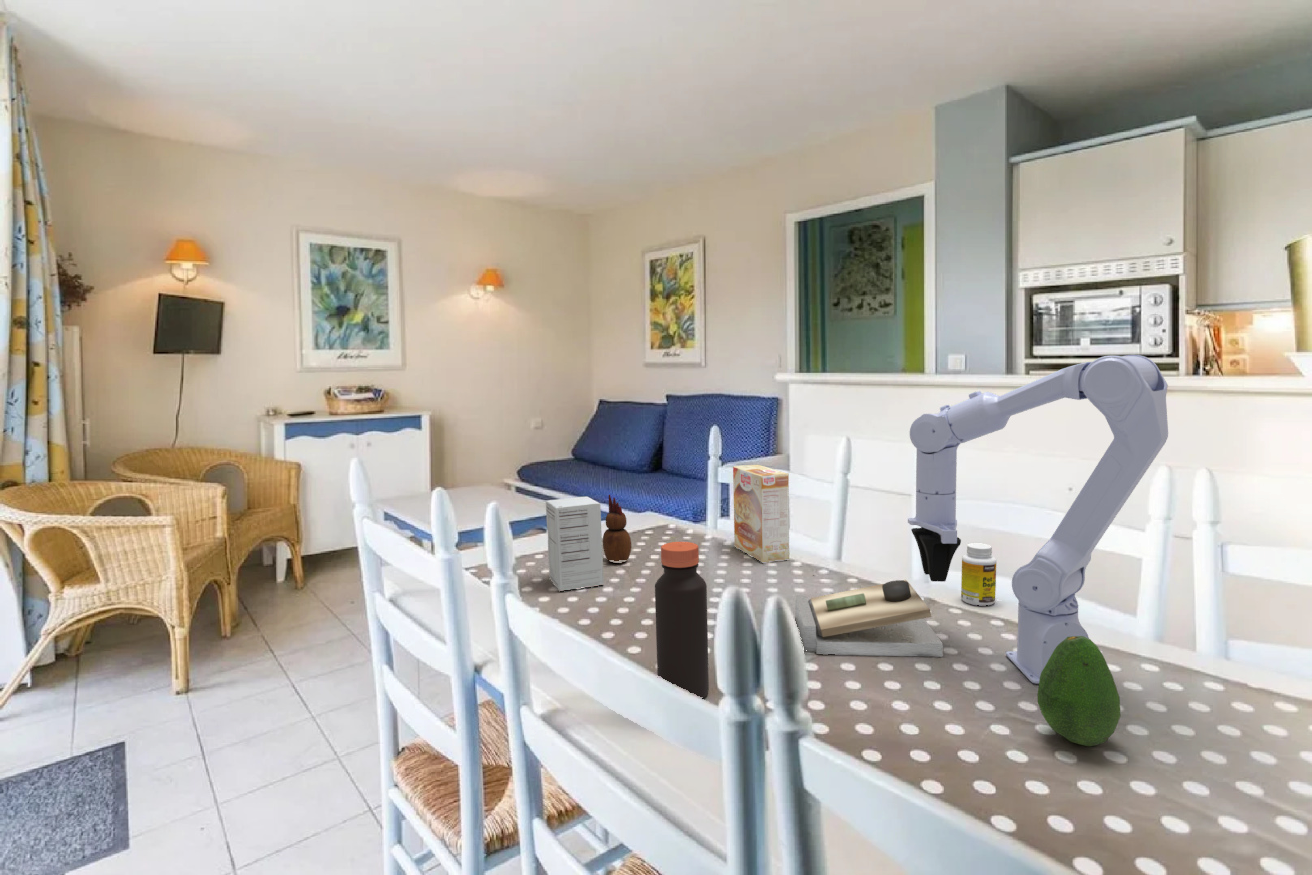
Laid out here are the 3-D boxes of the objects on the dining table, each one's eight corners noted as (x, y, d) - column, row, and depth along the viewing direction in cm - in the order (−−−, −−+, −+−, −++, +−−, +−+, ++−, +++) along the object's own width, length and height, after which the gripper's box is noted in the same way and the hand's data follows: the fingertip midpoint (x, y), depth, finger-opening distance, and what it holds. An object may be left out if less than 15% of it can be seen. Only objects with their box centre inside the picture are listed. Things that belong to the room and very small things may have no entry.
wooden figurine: (600, 560, 157) (597, 494, 155) (623, 556, 159) (621, 492, 157) (610, 567, 150) (608, 499, 149) (635, 563, 153) (633, 496, 151)
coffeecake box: (733, 547, 164) (731, 465, 162) (760, 544, 166) (759, 463, 164) (761, 564, 150) (760, 475, 148) (790, 560, 152) (790, 472, 150)
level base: (942, 656, 101) (942, 630, 101) (804, 654, 103) (804, 628, 103) (914, 616, 117) (914, 593, 116) (794, 615, 119) (794, 592, 119)
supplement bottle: (983, 609, 119) (985, 551, 118) (954, 600, 124) (955, 544, 123) (1002, 602, 123) (1003, 546, 121) (972, 594, 127) (973, 539, 126)
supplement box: (605, 586, 138) (601, 503, 136) (559, 593, 134) (555, 507, 133) (591, 573, 147) (588, 495, 145) (548, 579, 143) (544, 499, 142)
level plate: (931, 616, 102) (927, 596, 101) (818, 637, 104) (814, 617, 104) (907, 586, 115) (903, 568, 115) (808, 605, 118) (804, 587, 117)
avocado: (1088, 721, 82) (1092, 623, 81) (1135, 758, 75) (1140, 651, 73) (1021, 723, 82) (1024, 626, 81) (1061, 761, 74) (1065, 654, 73)
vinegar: (666, 708, 88) (661, 555, 86) (652, 685, 95) (647, 542, 93) (716, 700, 90) (713, 550, 88) (699, 678, 96) (695, 537, 94)
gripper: (897, 483, 114) (897, 563, 115) (921, 500, 100) (920, 592, 101) (942, 482, 113) (941, 563, 115) (972, 500, 99) (971, 592, 100)
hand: (934, 577), depth 108 cm, fingers open, 3 cm apart
